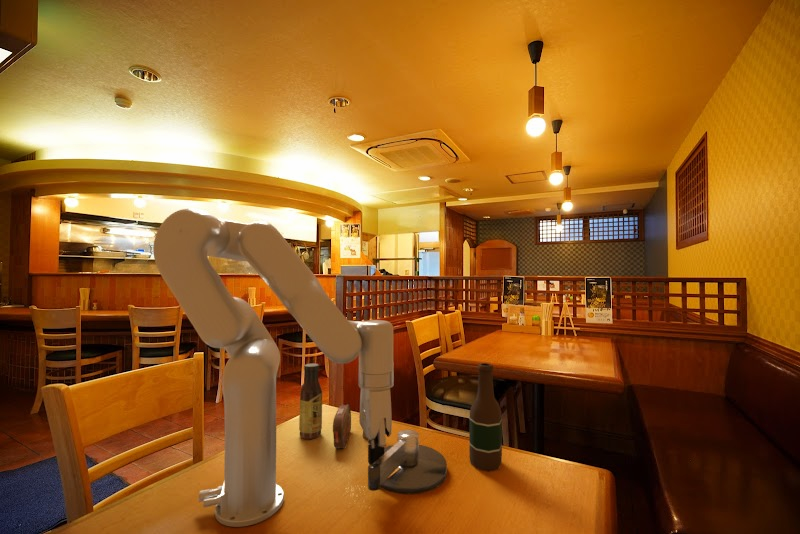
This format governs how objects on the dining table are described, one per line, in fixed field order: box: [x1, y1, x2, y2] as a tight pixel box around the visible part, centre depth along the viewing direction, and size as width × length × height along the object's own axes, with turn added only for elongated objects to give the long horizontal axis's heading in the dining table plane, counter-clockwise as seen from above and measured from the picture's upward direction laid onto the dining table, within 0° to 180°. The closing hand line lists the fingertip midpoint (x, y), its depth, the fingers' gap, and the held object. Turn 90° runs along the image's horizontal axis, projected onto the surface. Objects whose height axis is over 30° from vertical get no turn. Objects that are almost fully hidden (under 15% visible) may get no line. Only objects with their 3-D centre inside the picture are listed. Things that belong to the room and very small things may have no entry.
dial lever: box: [367, 429, 420, 492], centre depth 78 cm, size 19×5×6 cm, turn 152°
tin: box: [332, 404, 352, 449], centre depth 99 cm, size 15×3×8 cm, turn 179°
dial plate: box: [380, 444, 448, 495], centre depth 84 cm, size 18×18×2 cm
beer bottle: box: [468, 362, 503, 472], centre depth 88 cm, size 8×8×24 cm
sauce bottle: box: [298, 363, 323, 440], centre depth 103 cm, size 6×6×20 cm
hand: (376, 463), depth 77 cm, fingers closed
